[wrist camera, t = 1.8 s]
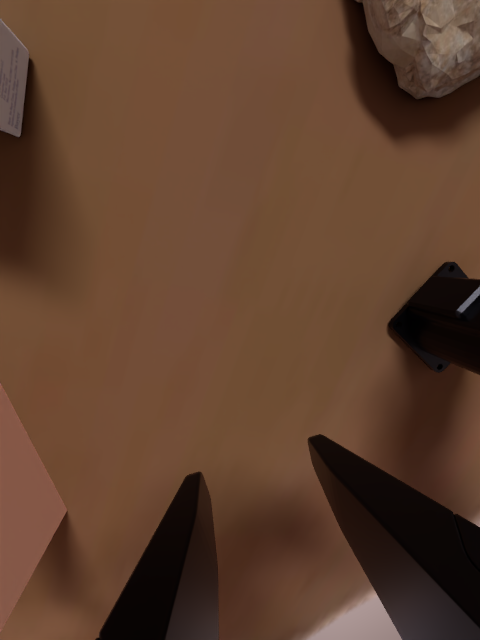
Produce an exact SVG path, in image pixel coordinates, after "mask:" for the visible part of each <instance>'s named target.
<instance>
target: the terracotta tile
mask: <svg viewBox="0 0 480 640" xmlns="http://www.w3.org/2000/svg"><path fill="white" fill-rule="evenodd" d="M66 512H67V509H66V507H65V505H64V503H63V501H62V499H61V497H60V495H59V493H58V492H57V490H56V488H55V486H54V484H53V482H52V480H51V478H50V476H49V474H48V472H47V471H46V469H45V467H44V465H43V463H42V461H41V459H40V457H39V455H38V453H37V452H36V450H35V448H34V446H33V444H32V442H31V440H30V438H29V436H28V434H27V432H26V431H25V429H24V427H23V425H22V423H21V421H20V419H19V417H18V415H17V413H16V411H15V410H14V408H13V406H12V404H11V402H10V400H9V398H8V396H7V394H6V392H5V391H4V389H3V387H2V385H1V383H0V632H1V631H2V629H3V627H4V625H5V623H6V621H7V620H8V618H9V616H10V614H11V612H12V610H13V609H14V607H15V605H16V603H17V601H18V599H19V598H20V596H21V594H22V592H23V590H24V588H25V587H26V585H27V583H28V581H29V579H30V578H31V576H32V574H33V572H34V570H35V568H36V567H37V565H38V563H39V561H40V559H41V557H42V556H43V554H44V552H45V550H46V548H47V546H48V545H49V543H50V541H51V539H52V537H53V535H54V534H55V532H56V530H57V528H58V526H59V524H60V523H61V521H62V519H63V517H64V515H65V513H66Z"/></svg>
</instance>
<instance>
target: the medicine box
mask: <svg viewBox="0 0 480 640" xmlns="http://www.w3.org/2000/svg"><path fill="white" fill-rule="evenodd" d="M28 61H29V52H28V50H27V48H26V47H25V46H24V45H23V44H22V43H21V42H20V40H19V39H18V38H17V37H16V36H15V35H14V34H13V32H12V31H11V30H10V29H9V28H8V27H7V26H6V25H5V24H4V22H3V21H2V20H1V19H0V130H1V131H4V132H6V133H9V134H12V135H14V136H16V137H20V135H21V127H22V118H23V108H24V99H25V89H26V79H27V70H28Z"/></svg>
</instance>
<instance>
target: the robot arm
mask: <svg viewBox="0 0 480 640" xmlns="http://www.w3.org/2000/svg"><path fill="white" fill-rule="evenodd" d="M449 267H450V269H449ZM448 269H449V270H448ZM397 322H398V325H397V326H396V323H397ZM389 326H390V328H391V329H392V330H393V331H394V332H395V333H396V334H397V335H398V336H399V337H400V338H401V339H402V340H403V341H404V342H405V343H406V344H407V345H408V346H409V347H410V348H411V349H412V350H413V351H414V352H415V353H416V354H417V355H418V356H419V358H420V359H421V360H422V361H423V362H424V363H425V364H426V365H427V366H428V367H429V368H430V369H431V370H433V371H435V372H438V373H439V372H442V371H443V370H444V369H445V368H446V367H447V366H448V365H449V364H450V363H452V364H455V365H457V366H460V367H462V368H464V369H467V370H469V371H471V372H474V373H476V374H479V375H480V279H469V278H468V277H467V276H466V275H465V273H464V272H463V271H462V270H461V268H460V267H459V266H458V265H457V264H456V263H455V262H445V263H444V264H443V265H442V266H441V267H440V268H439V269H438V270H437V271H436V272H435V273H434V274H433V275H432V276H431V277H430V278H429V279H428V280H427V281H426V283H425V284H424V285H423V286H422V287H421V288H420V289H419V290H418V291H417V292H416V293H415V294H414V295H413V296H412V298H411V299H410V300H409V301H408V302H407V303H406V304H405V305H404V306H403V308H402V309H401V310H400V311H399V312H398V313H397V314H396V315H395V316H394V317H393V318H392V319H391V321H390V323H389ZM437 366H438V367H437ZM308 446H309V451H310V456H311V460H312V464H313V467H314V470H315V472H316V474H317V477H318V479H319V481H320V483H321V486H322V488H323V490H324V493H325V495H326V497H327V499H328V502H329V504H330V506H331V509H332V511H333V513H334V515H335V518H336V520H337V522H338V524H339V526H340V528H341V530H342V532H343V534H344V536H345V538H346V540H347V541H348V543H349V545H350V547H351V549H352V550H353V552H354V554H355V556H356V557H357V559H358V561H359V563H360V565H361V566H362V568H363V570H364V572H365V574H366V575H367V577H368V579H369V581H370V583H371V584H372V586H373V588H374V590H375V591H376V593H377V595H378V597H379V598H380V600H381V602H382V604H383V606H384V608H385V609H386V611H387V613H388V614H389V616H390V618H391V620H392V622H393V624H394V625H395V627H396V629H397V631H398V633H399V634H400V636H401V638H402V640H480V527H478V526H477V525H475V524H473V523H471V522H470V521H468V520H466V519H465V518H463V517H461V516H460V515H458V514H453V512H452V511H451V510H449V509H447V508H446V507H444V506H442V505H441V504H439V503H437V502H436V501H434V500H432V499H430V498H429V497H427V496H425V495H424V494H422V493H420V492H419V491H417V490H415V489H414V488H412V487H410V486H408V485H407V484H405V483H403V482H402V481H400V480H398V479H397V478H395V477H393V476H392V475H390V474H388V473H386V472H385V471H383V470H381V469H380V468H378V467H376V466H375V465H373V464H371V463H369V462H368V461H366V460H364V459H363V458H361V457H359V456H358V455H356V454H354V453H353V452H351V451H349V450H347V449H346V448H344V447H342V446H341V445H339V444H337V443H336V442H334V441H332V440H330V439H329V438H327V437H325V436H324V435H321V434H319V435H315V436H312V437H309V438H308ZM95 640H219V624H218V566H217V554H216V545H215V535H214V525H213V516H212V506H211V499H210V495H209V491H208V488H207V486H206V483H205V480H204V477H203V474H202V473H201V472H196V473H193V474H189V475H187V476H186V477H185V479H184V481H183V483H182V484H181V486H180V488H179V490H178V492H177V493H176V495H175V497H174V499H173V501H172V502H171V504H170V506H169V508H168V510H167V511H166V513H165V515H164V517H163V519H162V520H161V522H160V524H159V526H158V528H157V529H156V531H155V533H154V535H153V537H152V538H151V540H150V542H149V544H148V546H147V547H146V549H145V551H144V553H143V555H142V556H141V558H140V560H139V562H138V564H137V565H136V567H135V569H134V571H133V573H132V574H131V576H130V578H129V580H128V582H127V583H126V585H125V587H124V589H123V591H122V592H121V594H120V596H119V598H118V600H117V601H116V603H115V605H114V607H113V609H112V610H111V612H110V614H109V616H108V618H107V619H106V621H105V623H104V625H103V627H102V628H101V630H100V632H99V638H96V639H95Z"/></svg>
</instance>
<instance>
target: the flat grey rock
mask: <svg viewBox="0 0 480 640" xmlns="http://www.w3.org/2000/svg"><path fill="white" fill-rule="evenodd" d="M355 1H357V2H358V3H360V2H363V6H364V11H365V17H366V22H367V27H368V31H369V33H370V35H371V37H372V39H373V42H374V44H375V46H376V48H377V50H378V52H379V53H380V54H381V55H382V56H383V57H385V58H386V59H387V60H388V61H389V62H391V63H393V66H394V69H395V72H396V76H397V80H398V86H399V87H400V88H402V89H403V90H405V91H407V92H408V93H409V94H411V95H412V96H413V97H415V98H416V99H421V98H424V97H436V98H440V97H442V96H445V95H447V94H449V93H451V92H453V91H454V90H456V89H457V88H459V87H460V86H462V85H464V84H465V83H467V82H469V81H471V80H473V79H475V78H477V77H478V76H480V0H355Z"/></svg>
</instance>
